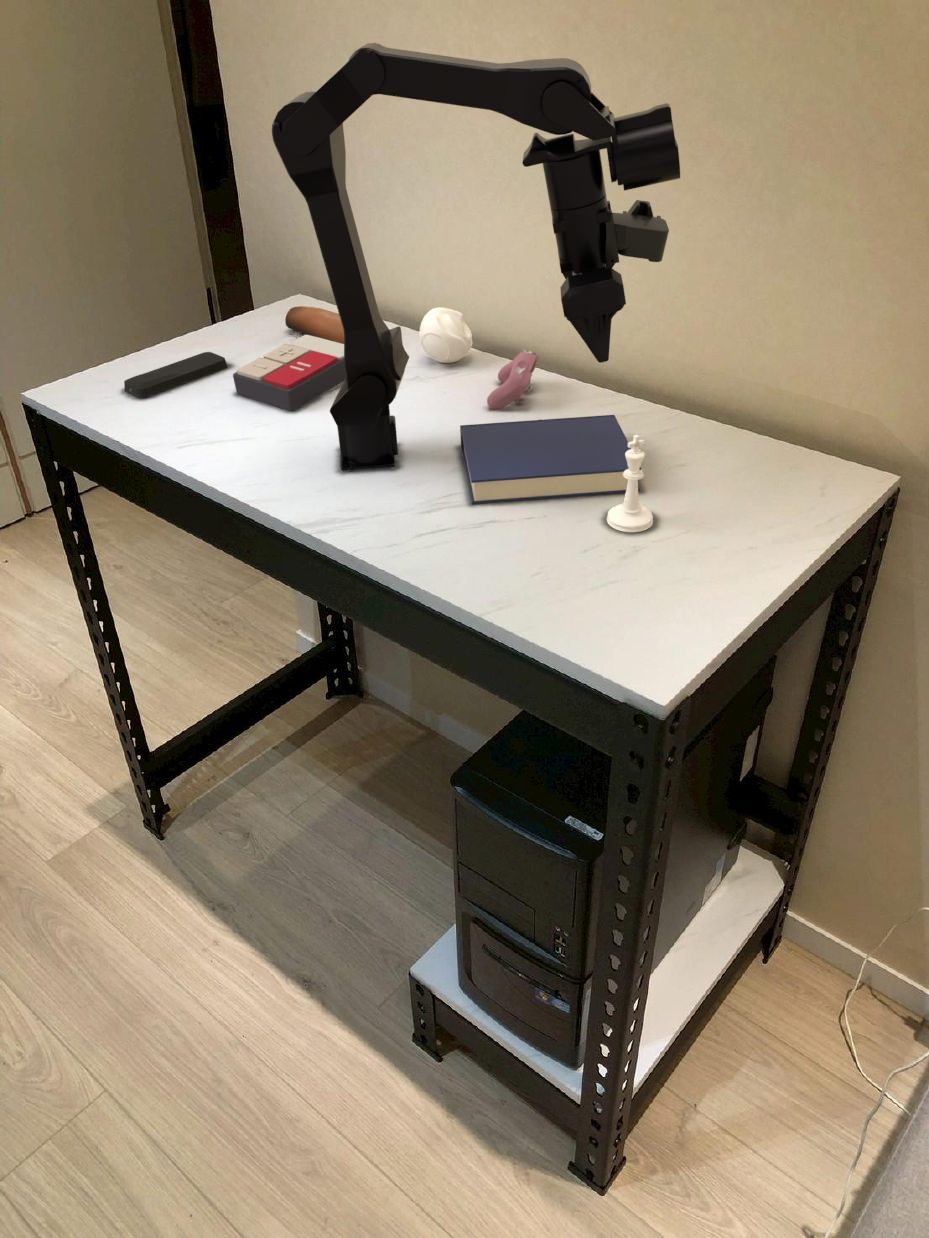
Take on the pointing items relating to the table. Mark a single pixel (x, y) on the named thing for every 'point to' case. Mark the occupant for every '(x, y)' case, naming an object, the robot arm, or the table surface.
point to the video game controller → (513, 380)
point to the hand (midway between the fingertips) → (601, 344)
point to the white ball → (445, 335)
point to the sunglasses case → (316, 323)
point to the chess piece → (631, 495)
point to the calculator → (293, 373)
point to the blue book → (544, 458)
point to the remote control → (174, 374)
